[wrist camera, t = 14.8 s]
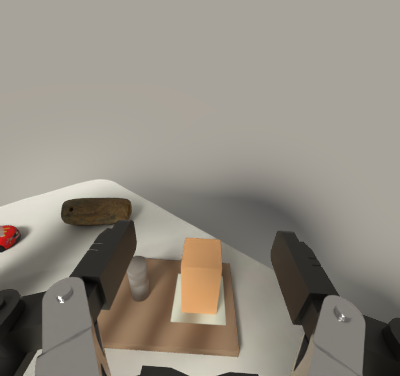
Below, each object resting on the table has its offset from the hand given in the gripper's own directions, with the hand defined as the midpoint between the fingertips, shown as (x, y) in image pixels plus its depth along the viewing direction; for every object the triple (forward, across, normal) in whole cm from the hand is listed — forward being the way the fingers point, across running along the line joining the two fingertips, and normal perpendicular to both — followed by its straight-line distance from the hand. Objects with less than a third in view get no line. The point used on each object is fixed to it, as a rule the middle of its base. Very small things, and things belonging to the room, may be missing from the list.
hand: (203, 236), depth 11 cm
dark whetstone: (+30, +26, +26) cm, 47 cm away
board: (+11, +5, +25) cm, 27 cm away
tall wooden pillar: (+11, 0, +23) cm, 25 cm away
